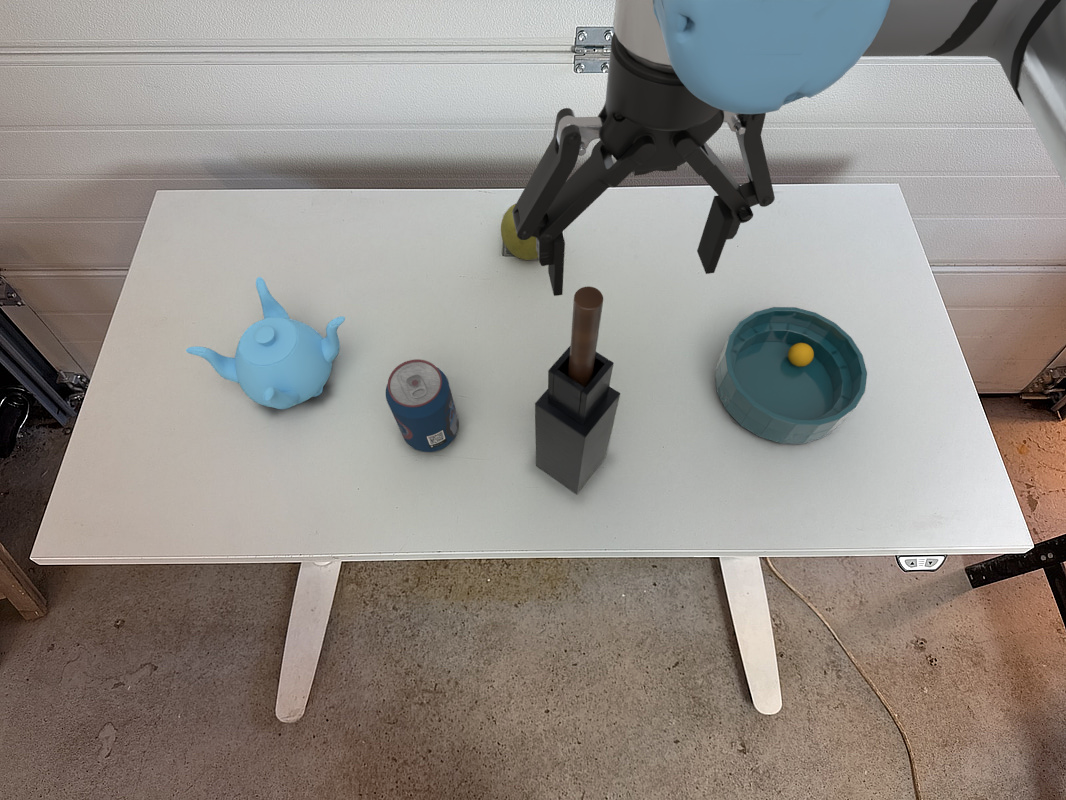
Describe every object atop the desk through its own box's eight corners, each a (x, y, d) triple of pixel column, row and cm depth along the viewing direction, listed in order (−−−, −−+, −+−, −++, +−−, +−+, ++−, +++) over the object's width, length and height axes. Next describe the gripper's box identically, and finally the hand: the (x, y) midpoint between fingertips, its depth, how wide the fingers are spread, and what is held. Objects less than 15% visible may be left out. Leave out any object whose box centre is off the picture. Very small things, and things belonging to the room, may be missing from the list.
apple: (491, 256, 91) (488, 220, 84) (523, 220, 94) (521, 183, 87) (536, 279, 89) (535, 244, 82) (566, 242, 92) (568, 205, 85)
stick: (580, 412, 61) (592, 314, 47) (561, 400, 61) (568, 299, 47) (593, 396, 62) (609, 295, 47) (575, 384, 62) (585, 281, 48)
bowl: (809, 471, 75) (829, 451, 69) (689, 398, 79) (700, 374, 74) (866, 376, 81) (889, 351, 75) (752, 313, 85) (766, 285, 80)
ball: (802, 375, 80) (810, 362, 77) (780, 362, 81) (788, 350, 78) (812, 359, 81) (821, 346, 78) (791, 347, 82) (799, 334, 79)
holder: (576, 494, 74) (589, 408, 54) (535, 465, 75) (533, 372, 56) (605, 456, 76) (628, 360, 56) (565, 429, 78) (573, 327, 58)
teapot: (222, 391, 81) (182, 349, 72) (291, 318, 86) (262, 270, 77) (298, 439, 77) (266, 401, 68) (366, 360, 83) (345, 315, 74)
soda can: (395, 417, 79) (373, 368, 68) (448, 397, 80) (434, 345, 69) (414, 465, 76) (393, 420, 65) (468, 443, 77) (456, 396, 66)
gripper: (851, -22, 40) (752, 222, 59) (457, 22, 38) (485, 259, 57) (904, 50, 36) (781, 285, 55) (473, 102, 35) (497, 327, 53)
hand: (630, 272), depth 56 cm, fingers open, 13 cm apart
